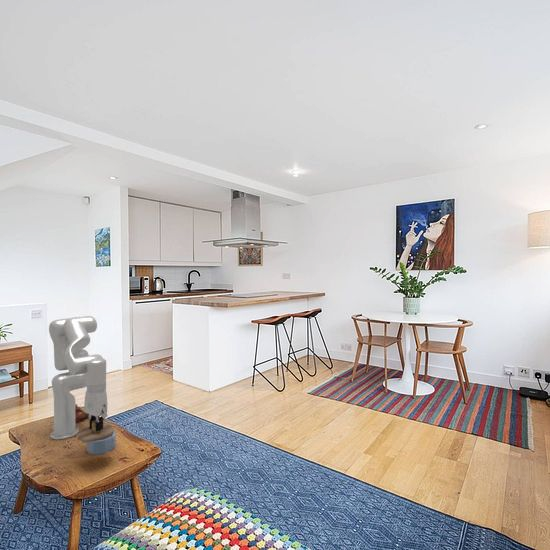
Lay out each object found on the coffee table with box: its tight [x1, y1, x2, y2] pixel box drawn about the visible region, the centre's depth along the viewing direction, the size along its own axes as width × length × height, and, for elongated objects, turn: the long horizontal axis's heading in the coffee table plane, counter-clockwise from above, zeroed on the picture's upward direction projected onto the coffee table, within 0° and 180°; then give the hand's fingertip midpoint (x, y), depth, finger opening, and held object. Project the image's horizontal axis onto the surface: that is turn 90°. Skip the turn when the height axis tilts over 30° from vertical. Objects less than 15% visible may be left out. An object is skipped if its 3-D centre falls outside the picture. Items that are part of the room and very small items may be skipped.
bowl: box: [86, 431, 117, 456], centre depth 166 cm, size 12×12×6 cm
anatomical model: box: [75, 403, 88, 423], centre depth 199 cm, size 11×13×15 cm
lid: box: [77, 420, 115, 443], centre depth 152 cm, size 14×14×6 cm
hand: (96, 428), depth 152 cm, fingers closed on lid, 3 cm apart
